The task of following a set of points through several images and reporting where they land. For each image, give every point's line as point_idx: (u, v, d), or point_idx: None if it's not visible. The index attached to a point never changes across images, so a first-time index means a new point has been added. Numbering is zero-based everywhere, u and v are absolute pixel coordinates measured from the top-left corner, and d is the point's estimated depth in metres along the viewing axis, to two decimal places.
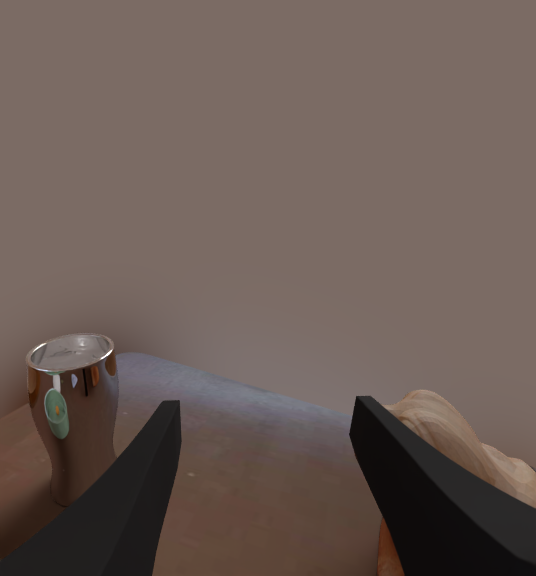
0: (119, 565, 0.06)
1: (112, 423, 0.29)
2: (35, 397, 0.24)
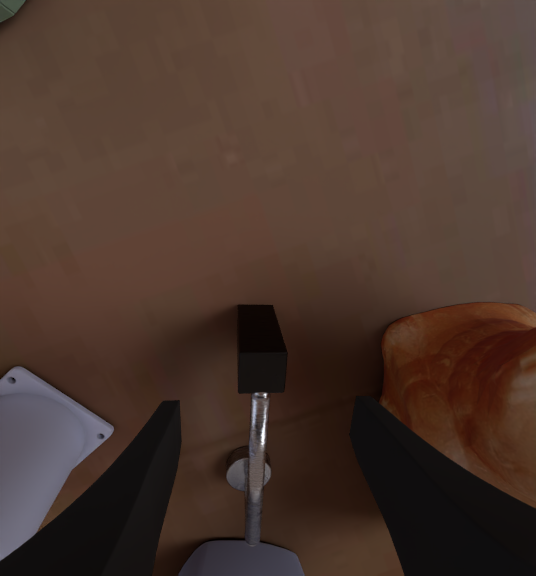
0: (119, 565, 0.06)
1: None
2: None
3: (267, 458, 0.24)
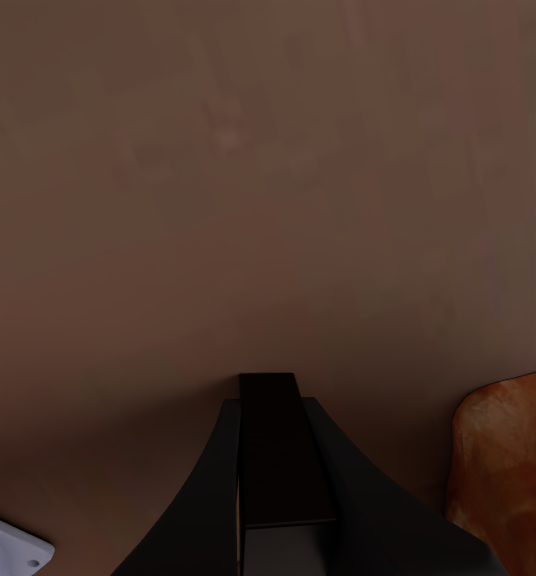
0: None
1: None
2: None
3: None
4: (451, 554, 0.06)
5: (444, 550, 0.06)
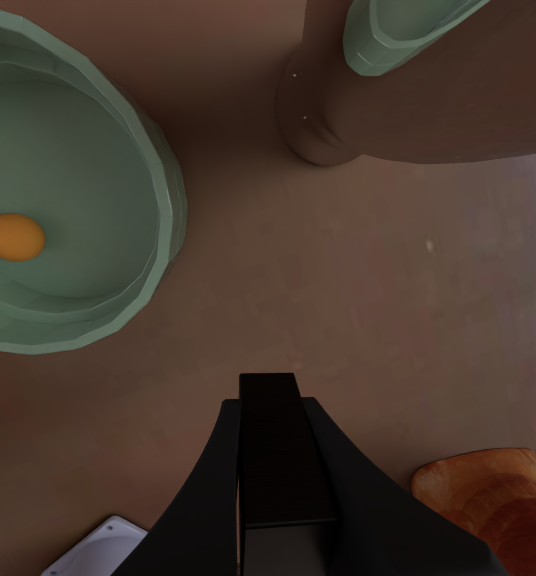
0: None
1: None
2: None
3: None
4: (451, 554, 0.06)
5: (444, 550, 0.06)
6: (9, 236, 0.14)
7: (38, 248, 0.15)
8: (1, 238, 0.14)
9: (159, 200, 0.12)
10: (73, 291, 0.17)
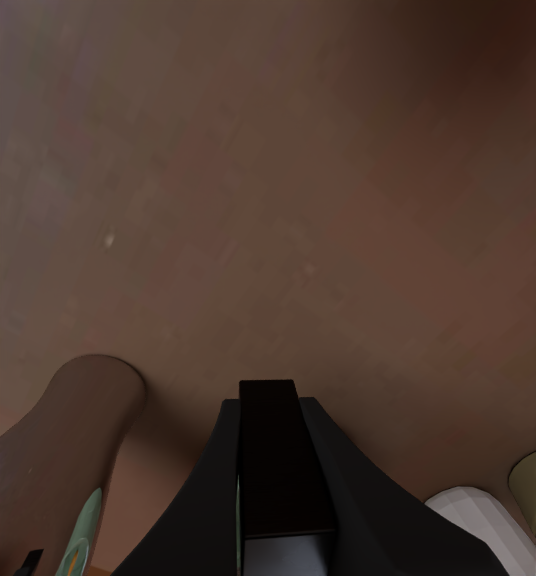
0: None
1: (43, 448, 0.13)
2: None
3: None
4: (451, 554, 0.06)
5: (445, 550, 0.06)
6: None
7: None
8: None
9: None
10: None
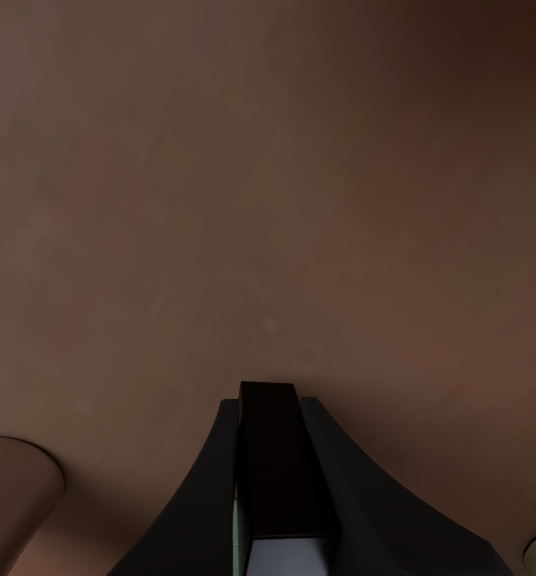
0: None
1: None
2: None
3: None
4: (455, 553, 0.06)
5: (448, 550, 0.06)
6: None
7: None
8: None
9: None
10: None
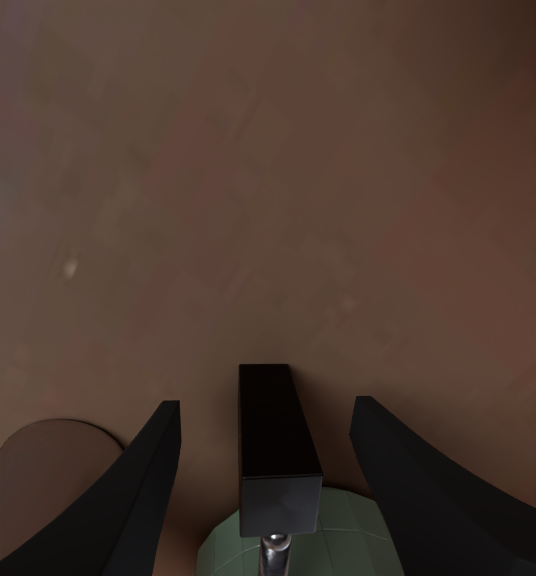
0: (119, 565, 0.06)
1: None
2: None
3: None
4: None
5: None
6: None
7: None
8: None
9: None
10: None
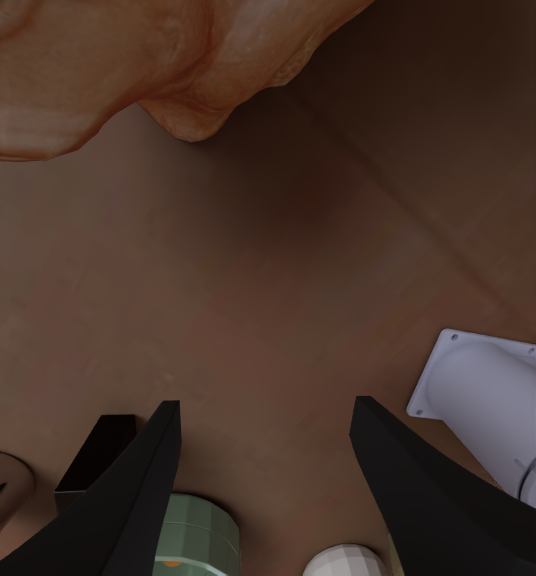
0: (119, 564, 0.06)
1: None
2: None
3: None
4: None
5: None
6: None
7: None
8: None
9: None
10: None
